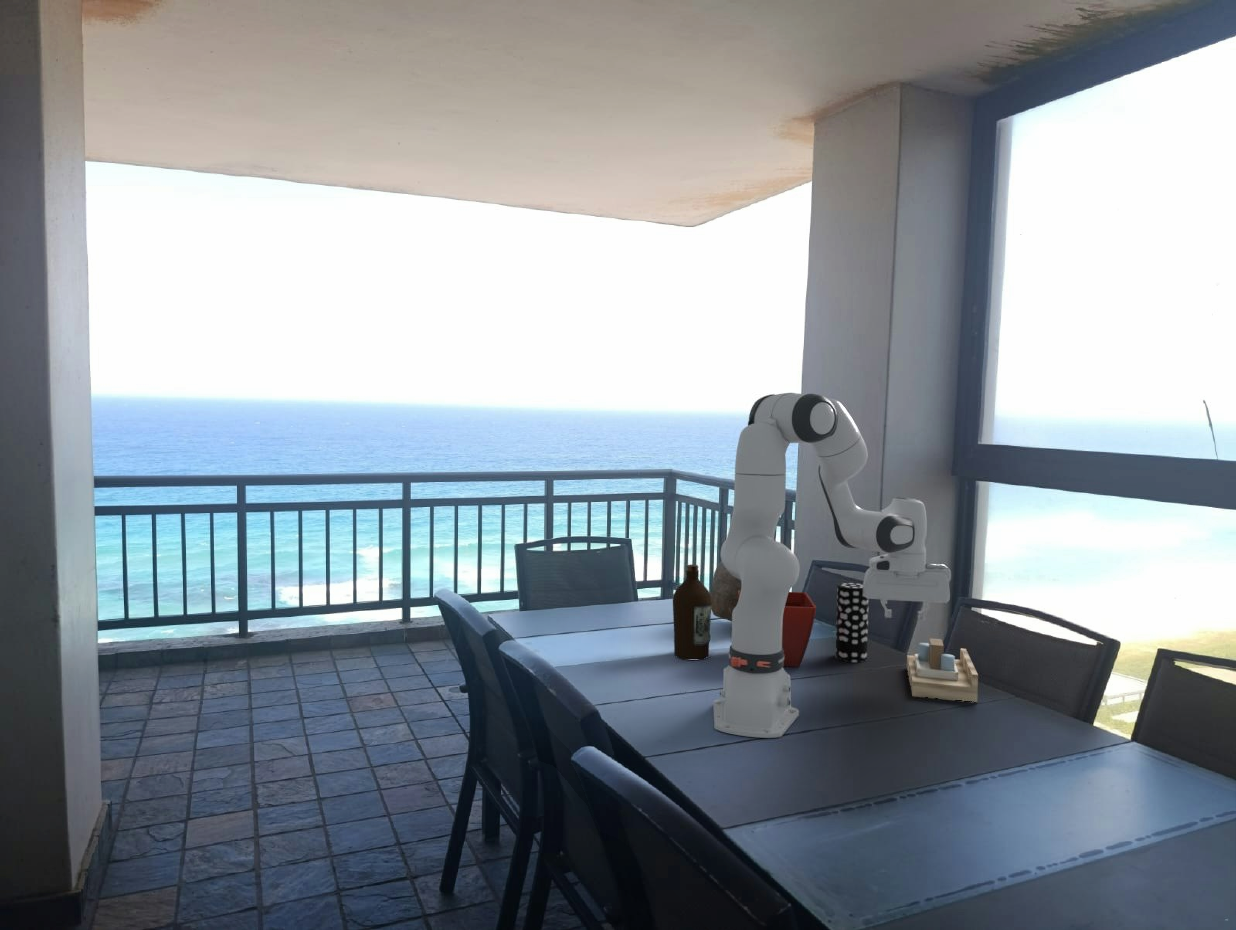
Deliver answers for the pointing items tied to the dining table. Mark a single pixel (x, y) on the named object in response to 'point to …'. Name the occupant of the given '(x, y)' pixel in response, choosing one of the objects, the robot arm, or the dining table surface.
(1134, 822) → the dining table surface
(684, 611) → the olive oil
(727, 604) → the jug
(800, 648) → the plant pot
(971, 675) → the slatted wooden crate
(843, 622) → the white-spotted black cylinder
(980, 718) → the dining table surface
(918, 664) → the caddy tray
